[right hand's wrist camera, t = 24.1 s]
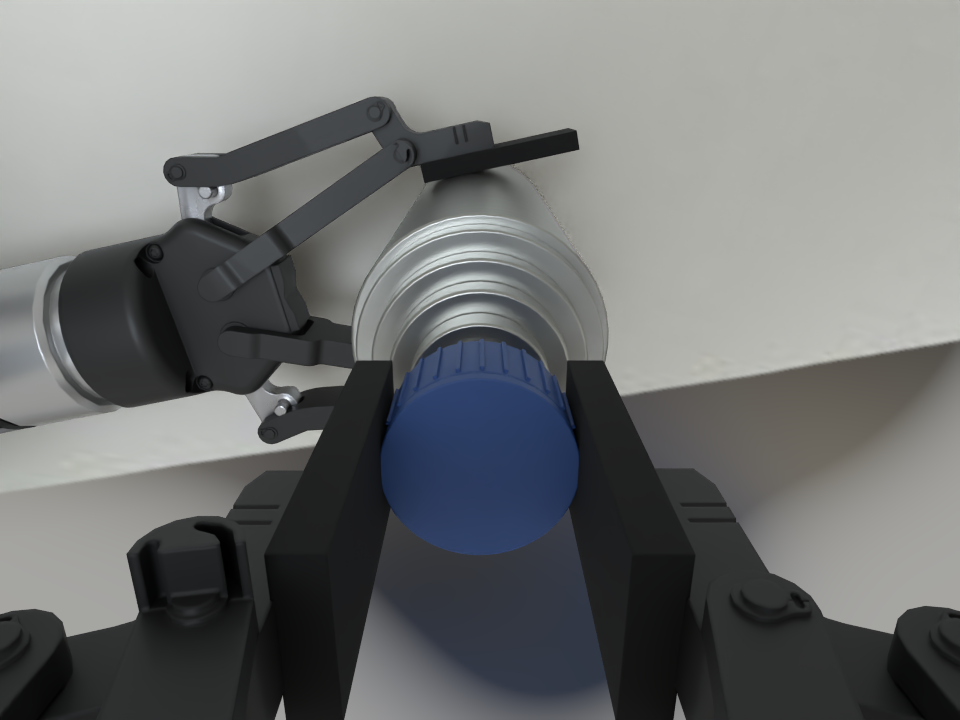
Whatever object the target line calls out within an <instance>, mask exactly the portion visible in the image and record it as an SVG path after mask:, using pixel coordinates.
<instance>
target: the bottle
mask: <svg viewBox="0 0 960 720" xmlns="http://www.w3.org/2000/svg"><path fill="white" fill-rule="evenodd" d="M480 339H484V341H488V342H496V343H502V342H506V345H509V346H511V347H514V348H517V349H519V350H522V349H524V350H526V353H527V354H529V355H530V356H532V357H533V358H535V359H536V360H537V361H540V360H541V361H542V362H543V363H544V367H545V368H546V369H547V370H548V371H549V372H550V373H551V375H552V376H554V375H555V376H556V377H557V380H558V383H559V387H560V389H561V392H562V393H563V392H565V394H566V374H567V360H603V361H604V363H605V360H606V354H607V348H608V321H607V313H606V309H605V305H604V301H603V298H602V295H601V293H600V290H599V288H598V285H597V283H596V281H595V279H594V278H593V276H592V274H591V273H590V271H589V269H588V268H587V266H586V265H585V263H584V261H583V260H582V258H581V257H580V255H579V254H578V252H577V251H576V249H575V248H574V246H573V245H572V243H571V241H570V240H569V238H568V237H567V235H566V234H565V232H564V231H563V229H562V228H561V226H560V225H559V223H558V221H557V220H556V218H555V217H554V215H553V214H552V212H551V211H550V209H549V208H548V206H547V205H546V203H545V201H544V200H543V198H542V197H541V195H540V194H539V192H538V191H537V189H536V188H535V186H534V185H533V184H532V183H531V181H530V180H529V179H528V178H527V177H526V176H525V175H524V174H522V173H521V172H520V171H518V170H517V169H516V168H514V167H512V166H510V165H506V166H501V167H497V168H492V169H488V170H483V171H478V172H474V173H469V174H465V175H459V176H455V177H451V178H446V179H442V180H437V181H432V182H428V183H427V185H426V186H425V188H424V189H423V191H422V192H421V194H420V195H419V197H418V198H417V200H416V201H415V203H414V204H413V206H412V207H411V209H410V211H409V212H408V214H407V215H406V217H405V218H404V220H403V221H402V223H401V224H400V226H399V227H398V229H397V231H396V232H395V234H394V235H393V237H392V238H391V240H390V241H389V243H388V244H387V246H386V247H385V249H384V251H383V252H382V254H381V255H380V257H379V258H378V260H377V261H376V263H375V264H374V266H373V267H372V269H371V271H370V272H369V274H368V275H367V277H366V279H365V281H364V283H363V285H362V287H361V289H360V291H359V294H358V297H357V300H356V304H355V307H354V312H353V318H352V329H351V342H352V350H353V357H354V361H355V362H356V360H392V362H393V383H394V393H395V390H396V388H397V389H399V388H400V387H401V385H402V383H403V380H404V376H405V374H406V372H409V373H410V372H411V371H412V370H413V369H414V367H415V366H416V365H417V364H419V360H420V359H421V358H423V359H425V358H426V357H428V356H429V355H431V354H433V353H434V352H436V351H437V348H439V347H441V348H442V349H443V348H445V347H447V346H451V345H454V344H458V341H462V343H464V342H470V341H480Z"/></svg>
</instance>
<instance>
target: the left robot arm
mask: <svg viewBox="0 0 960 720" xmlns="http://www.w3.org/2000/svg"><path fill="white" fill-rule="evenodd" d="M370 132H373V134H374V135H375V137H376V139H377V140H378V142H379V143H380V145H381V146H382V148H383V149H382V150H380V151H379V152H378V153H376V154H375V155H373V156H372V157H371V158H369V159H368V160H366V161H365V162H364V163H362V164H361V165H359V166H358V167H357V168H355V169H354V170H352V171H351V172H350V173H348V174H347V175H345V176H344V177H343V178H341V179H340V180H338V181H337V182H336V183H334V184H333V185H331V186H330V187H329V188H327V189H326V190H324V191H323V192H322V193H320V194H319V195H317V196H316V197H315V198H313V199H312V200H310V201H309V202H308V203H306V204H305V205H303V206H302V207H301V208H299V209H298V210H296V211H295V212H294V213H292V214H291V215H289V216H288V217H287V218H285V219H284V220H282V221H281V222H280V223H278V224H277V225H275V226H274V227H272V228H271V229H270V230H268V231H267V232H265V233H264V234H262V235H261V236H260V237H259V236H257V235H255V234H252V233H250V232H248V231H245V230H243V229H240V228H238V227H236V226H233V225H231V224H229V223H226V222H224V221H222V220H219V219H217V218H215V217H212V209H213V207H214V205H215V204H217V203H220V202H222V201H225V200H227V199H228V198H229V197H230V196H231V194H232V184H234V183H237V182H240V181H243V180H246V179H249V178H252V177H255V176H258V175H261V174H263V173H266V172H269V171H271V170H274V169H276V168H279V167H282V166H284V165H287V164H289V163H292V162H295V161H297V160H300V159H302V158H305V157H307V156H310V155H313V154H315V153H318V152H320V151H323V150H326V149H328V148H331V147H333V146H336V145H339V144H341V143H344V142H346V141H349V140H352V139H354V138H357V137H359V136H362V135H365V134H367V133H370ZM575 150H579V144H578V137H577V131H576V130H573V129H570V128H567V129H562V130H558V131H553V132H549V133H544V134H540V135H535V136H531V137H526V138H522V139H517V140H512V141H508V142H503V143H499V144H494V142H493V137H492V132H491V127H490V123H488V122H482V121H473V122H468V123H464V124H459V125H455V126H450V127H446V128H441V129H437V130H432V131H428V132H421V133H420V132H415V131H413V130H411V129H410V128H409V127H408V126H407V125H406V124H405V122H404V121H403V119H402V118H401V116H400V114H399V113H398V111H397V110H396V106H395V105H394V103H393V102H392V101H391V100H390V99H388V98H385V97H369V98H367V99H364V100H362V101H359V102H356V103H354V104H351V105H349V106H346V107H344V108H341V109H339V110H336V111H333V112H331V113H328V114H326V115H323V116H321V117H318V118H316V119H313V120H310V121H308V122H305V123H303V124H300V125H298V126H295V127H293V128H290V129H288V130H285V131H282V132H280V133H277V134H275V135H272V136H270V137H267V138H265V139H262V140H259V141H257V142H254V143H252V144H249V145H247V146H244V147H242V148H239V149H236V150H234V151H231V152H229V153H196V154H191V155H185V156H179V157H174V158H170V159H169V160H167V161H166V163H165V165H164V168H163V173H164V176H165V178H166V179H167V181H168V182H169V183H170V184H172V185H174V186H177V190H178V197H179V204H180V210H181V217H182V220H180V221H179V222H177V223H176V224H175V225H174V226H173V227H172V228H171V229H170V230H169V231H168V232H166V233H165V234H162V235H157V236H153V237H148V238H144V239H139V240H135V241H130V242H125V243H121V244H116V245H112V246H107V247H103V248H98V249H93V250H89V251H85V252H83V253H81V254H80V255H78V256H70V255H66V256H61V257H57V258H52V259H48V260H43V261H38V262H34V263H29V264H25V265H20V266H16V267H11V268H7V269H2V270H0V433H5V432H10V431H14V430H19V429H24V428H30V427H35V426H39V425H44V424H50V423H55V422H60V421H65V420H71V419H76V418H81V417H87V416H92V415H97V414H102V413H107V412H112V411H116V410H117V409H119V408H121V407H127V408H128V407H137V406H142V405H147V404H152V403H157V402H162V401H167V400H172V399H178V398H183V397H188V396H193V395H197V394H201V393H205V392H209V391H215V390H219V391H227V392H231V393H234V394H239V395H246V397H247V398H248V400H249V402H250V403H251V405H252V406H253V408H254V410H255V411H256V413H257V414H258V416H259V418H260V419H261V421H262V423H261V425H260V426H259V428H258V435H259V438H260V439H261V440H262V441H263V442H265V443H268V444H275V443H278V442H281V441H283V440H286V439H288V438H290V437H293V436H295V435H298V434H300V433H302V432H305V431H307V430H323V429H324V427H325V425H326V423H327V421H328V419H329V417H330V415H331V413H332V411H333V408H334V406H335V404H336V402H337V400H338V398H339V396H340V394H341V392H342V390H343V387H344V386H333V387H321V388H314V389H309V390H306V391H303V392H299V390H298V389H297V387H294V386H285V387H277V386H275V385H273V384H272V383H270V381H269V380H268V379H269V377H270V376H271V375H272V374H273V373H274V372H275V370H276V369H277V368H278V367H279V366H280V365H281V363H282V362H285V363H291V364H297V365H304V366H314V365H317V364H325V365H332V366H338V367H344V368H351V369H353V366H354V364H355V361H354V357H353V350H352V342H351V329H352V326H347V325H341V324H335V323H332V322H331V321H330V320H328V319H324V318H318V317H312V316H309V312H308V309H307V306H306V303H305V301H304V299H303V298H302V296H301V294H300V293H299V291H298V290H297V288H296V272H295V268H294V264H293V261H292V258H291V255H288V256H286V254H287V253H288V252H290V251H291V250H292V249H294V248H295V247H297V246H298V245H299V244H301V243H302V242H304V241H305V240H307V239H308V238H309V237H311V236H312V235H314V234H315V233H316V232H318V231H319V230H321V229H322V228H324V227H325V226H326V225H328V224H329V223H331V222H332V221H334V220H335V219H336V218H338V217H339V216H341V215H342V214H344V213H345V212H346V211H348V210H349V209H351V208H352V207H354V206H355V205H356V204H358V203H359V202H361V201H362V200H364V199H365V198H366V197H368V196H369V195H371V194H372V193H374V192H375V191H376V190H378V189H379V188H381V187H382V186H384V185H385V184H386V183H388V182H389V181H391V180H392V179H394V178H395V177H396V176H398V175H399V174H401V173H402V172H404V171H405V170H406V169H408V168H409V167H413V166H418V165H421V170H422V174H423V178H424V183H428V182H432V181H437V180H442V179H446V178H451V177H455V176H459V175H465V174H469V173H474V172H478V171H483V170H488V169H492V168H497V167H501V166H506V165H511V164H515V163H520V162H524V161H529V160H534V159H538V158H543V157H547V156H552V155H556V154H561V153H566V152H570V151H575Z"/></svg>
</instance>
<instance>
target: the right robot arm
mask: <svg viewBox="0 0 960 720" xmlns="http://www.w3.org/2000/svg"><path fill="white" fill-rule="evenodd" d="M393 396H394V383H393V362H392V360H356V362H355V364H354V366H353V369H352V371H351V373H350V375H349V377H348V379H347V381H346V383H345V385H344V387H343V390H342V392H341V394H340V396H339V398H338V400H337V402H336V404H335V406H334V408H333V411H332V413H331V415H330V417H329V419H328V421H327V423H326V425H325V427H324V429H323V432H322V434H321V436H320V438H319V440H318V442H317V444H316V446H315V448H314V451H313V453H312V455H311V457H310V459H309V461H308V463H307V465H306V467H305V469H304V471H266V472H264V473H263V474H262V475H260V476H259V477H258V478H256V479H255V480H253V481H252V482H251V483H249V484H248V485H247V486H245V487H244V489H243V490H242V492H241V494H240V495H239V497H238V499H237V500H236V502H235V504H234V505H233V509H231V510H230V512H229V513H228V515H227V517H226V518H223V517H219V516H196V517H191V518H186V519H181V520H176V521H173V522H171V523H168V524H166V525H163V526H161V527H158V528H156V529H154V530H152V531H151V532H149V533H148V534H146V535H145V536H143V537H142V538H141V539H139V540H138V541H137V542H136V543H135V544H134V545H133V547H132V548H131V549H130V550H129V552H128V553H127V559H128V563H129V568H130V572H131V576H132V581H133V586H134V590H135V595H136V599H137V604H138V608H139V613H138V616H137V618H136V620H134V621H132V622H128V623H125V624H122V625H118V626H115V627H111V628H106V629H102V630H97V631H93V632H88V633H84V634H79V635H75V636H70V637H66V633H65V630H64V626H63V622H62V621H61V620H60V619H59V618H58V617H57V616H56V615H54V614H53V613H52V612H47V611H42V610H37V609H29V610H19V611H11V612H8V613H4V614H0V720H275V717H276V714H277V711H278V708H279V705H280V702H281V699H282V696H283V700H284V707H285V714H286V720H344V718H345V713H346V709H347V704H348V699H349V695H350V690H351V685H352V681H353V676H354V672H355V667H356V663H357V658H358V654H359V649H360V645H361V640H362V636H363V631H364V626H365V622H366V617H367V613H368V608H369V604H370V599H371V594H372V590H373V585H374V581H375V576H376V572H377V567H378V563H379V558H380V553H381V549H382V544H383V540H384V535H385V531H386V526H387V521H388V517H389V512H390V508H391V507H390V505H389V503H388V502H387V499H386V497H385V494H384V492H383V488H382V476H381V457H380V452H381V447H382V443H383V440H384V436H385V433H386V429H387V426H388V425H387V424H386V420H387V417H388V413H389V410H390V407H391V403H392V400H393ZM566 396H567V400H568V403H569V407H570V410H571V414H572V417H573V420H574V424H575V427H576V428H574V429H573V431H574V435H575V438H576V442H577V446H578V449H579V468H578V484H577V490H576V493H575V496H574V498H573V500H572V502H571V504H570V506H569V510H570V514H571V519H572V523H573V528H574V532H575V537H576V542H577V546H578V551H579V555H580V560H581V565H582V569H583V574H584V578H585V583H586V587H587V592H588V596H589V601H590V606H591V610H592V615H593V619H594V624H595V628H596V633H597V638H598V642H599V647H600V651H601V656H602V660H603V665H604V670H605V674H606V679H607V683H608V688H609V692H610V697H611V701H612V706H613V711H614V715H615V720H673V718H674V711H675V704H676V696H677V694H678V697H679V700H680V703H681V706H682V709H683V712H684V715H685V718H686V720H960V611H956V610H953V609H950V608H942V607H931V606H923V607H918V608H913V609H909V610H907V611H906V612H905V613H904V614H903V615H901V616H900V617H899V618H898V620H897V624H896V628H895V631H894V634H889V633H885V632H880V631H876V630H871V629H867V628H862V627H858V626H853V625H849V624H845V623H841V622H838V621H834V620H831V619H827V618H825V617H823V615H822V612H821V610H820V609H819V607H818V606H817V604H816V603H815V601H814V600H813V599H812V597H811V596H810V595H809V594H807V593H806V592H805V591H804V590H802V589H801V588H800V587H798V586H797V585H796V584H794V583H792V582H790V581H788V580H786V579H783V578H781V577H779V576H777V575H775V574H771V573H769V572H768V570H767V568H766V567H765V565H764V563H763V562H762V560H761V559H760V557H759V555H758V554H757V552H756V550H755V549H754V547H753V546H752V544H751V542H750V541H749V539H748V537H747V536H746V534H745V533H744V531H743V529H742V528H741V526H740V524H739V523H736V518H735V516H734V515H733V513H732V511H731V510H730V508H729V507H727V506H726V502H725V500H724V498H723V497H722V495H721V493H720V492H719V490H718V489H717V487H716V485H715V484H714V483H712V482H711V481H710V480H708V479H707V478H705V477H704V476H703V475H701V474H700V473H698V472H697V471H696V470H694V469H655V468H654V466H653V464H652V462H651V460H650V458H649V456H648V454H647V451H646V449H645V447H644V445H643V443H642V441H641V439H640V437H639V435H638V433H637V431H636V428H635V426H634V424H633V422H632V420H631V418H630V416H629V414H628V412H627V409H626V407H625V405H624V403H623V401H622V399H621V397H620V395H619V393H618V391H617V388H616V386H615V384H614V382H613V380H612V378H611V376H610V374H609V372H608V370H607V367H606V365H605V363H604V361H603V360H567V374H566Z"/></svg>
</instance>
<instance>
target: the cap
mask: <svg viewBox="0 0 960 720" xmlns="http://www.w3.org/2000/svg"><path fill="white" fill-rule="evenodd" d="M386 424H387V425H388V426H387V429H386V433H385V436H384V440H383V443H382V447H381V452H380V457H381V476H382V488H383V492H384V494H385V497H386V499H387V502H388V503H389V505H390V507H391V508H392V510H393V512H394V513H395V514H396V516H397V517H398V518H399V519H400V521H401V522H402V523H403V524H404V525H405V526H406V527H407V528H408V529H409V530H410V531H412V532H413V533H414V534H416V535H417V536H418V537H420V538H421V539H423V540H425V541H427V542H428V543H430V544H432V545H435V546H437V547H439V548H442V549H445V550H449V551H452V552H457V553H462V554H470V555H491V554H497V553H503V552H507V551H511V550H515V549H517V548H520V547H523V546H525V545H527V544H529V543H531V542H533V541H535V540H537V539H538V538H540V537H541V536H542V535H544V534H545V533H547V532H548V531H549V530H550V529H551V528H552V527H554V526H555V525H556V524H557V522H558V521H559V520H560V519H561V518H562V517H563V515H564V514H565V512H566V511H567V509H568V508H569V506H570V504H571V502H572V500H573V498H574V496H575V493H576V490H577V484H578V468H579V449H578V446H577V442H576V438H575V435H574V431H573V429H574V428H576V427H575V424H574V420H573V417H572V414H571V410H570V407H569V403H568V400H567V396H566V394H565V392H563V393H562V392H561V389H560V387H559V383H558V380H557V377H556V376H555V375H554V376H552V375H551V373H550V372H549V371H548V370H547V369H546V368H545V367H544V363H543V362H542V361H541V360H540V361H537V360H536V359H535V358H533V357H532V356H530V355H529V354H527V353H526V350H524V349H522V350H519V349H517V348H514V347H511V346H509V345H506V342H502V343H496V342H488V341H484V339H480V341H470V342H464V343H462V341H458V344H454V345H451V346H447V347H445V348H443V349H442V348H441V347H439V348H437V351H436V352H434V353H433V354H431V355H429V356H428V357H426V358H425V359H423V358H421V359H420V360H419V364H417V365H416V366H415V367H414V369H413V370H412V371H411V372H410V373H409V372H406V374H405V376H404V380H403V383H402V385H401V387H400V388H399V389H397V388H396V390H395V393H394V396H393V400H392V403H391V407H390V410H389V413H388V417H387V420H386Z"/></svg>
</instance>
